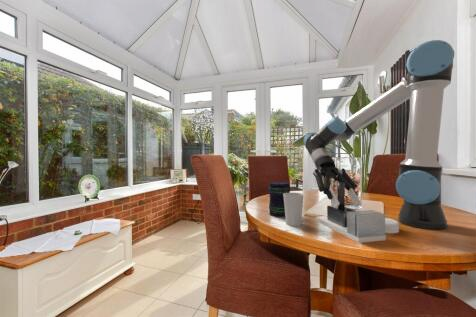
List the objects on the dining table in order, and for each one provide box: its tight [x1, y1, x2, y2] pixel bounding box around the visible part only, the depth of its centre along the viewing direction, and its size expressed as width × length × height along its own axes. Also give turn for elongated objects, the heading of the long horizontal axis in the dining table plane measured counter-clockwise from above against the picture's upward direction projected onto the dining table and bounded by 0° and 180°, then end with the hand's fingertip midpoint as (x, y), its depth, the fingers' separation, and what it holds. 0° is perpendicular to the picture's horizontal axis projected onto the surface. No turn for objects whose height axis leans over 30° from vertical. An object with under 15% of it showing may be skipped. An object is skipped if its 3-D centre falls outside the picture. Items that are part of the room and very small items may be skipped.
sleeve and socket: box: [326, 205, 386, 238], centre depth 83 cm, size 20×10×7 cm, turn 12°
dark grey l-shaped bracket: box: [336, 181, 347, 222], centre depth 82 cm, size 16×3×14 cm, turn 12°
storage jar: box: [268, 181, 291, 218], centre depth 107 cm, size 10×10×15 cm
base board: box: [315, 215, 387, 244], centre depth 85 cm, size 26×10×2 cm, turn 12°
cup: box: [283, 192, 304, 227], centre depth 93 cm, size 8×8×12 cm
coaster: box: [385, 217, 400, 235], centre depth 85 cm, size 10×10×4 cm
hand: (347, 205), depth 84 cm, fingers open, 8 cm apart
